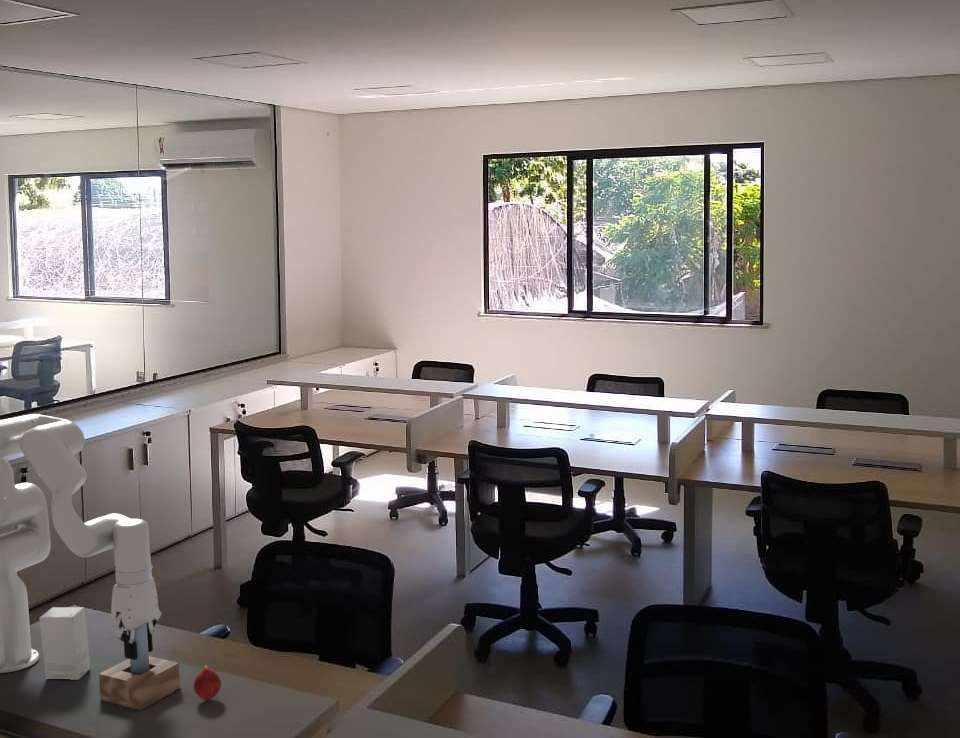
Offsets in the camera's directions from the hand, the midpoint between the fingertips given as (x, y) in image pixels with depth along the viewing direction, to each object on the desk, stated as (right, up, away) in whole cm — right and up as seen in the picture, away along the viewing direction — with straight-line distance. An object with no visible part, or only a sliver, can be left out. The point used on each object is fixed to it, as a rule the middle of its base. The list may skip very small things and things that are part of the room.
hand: (138, 653), depth 232 cm
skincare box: (-21, -8, +12) cm, 25 cm away
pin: (0, -4, +1) cm, 4 cm away
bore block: (0, -9, +1) cm, 9 cm away
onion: (+16, -10, -2) cm, 19 cm away
